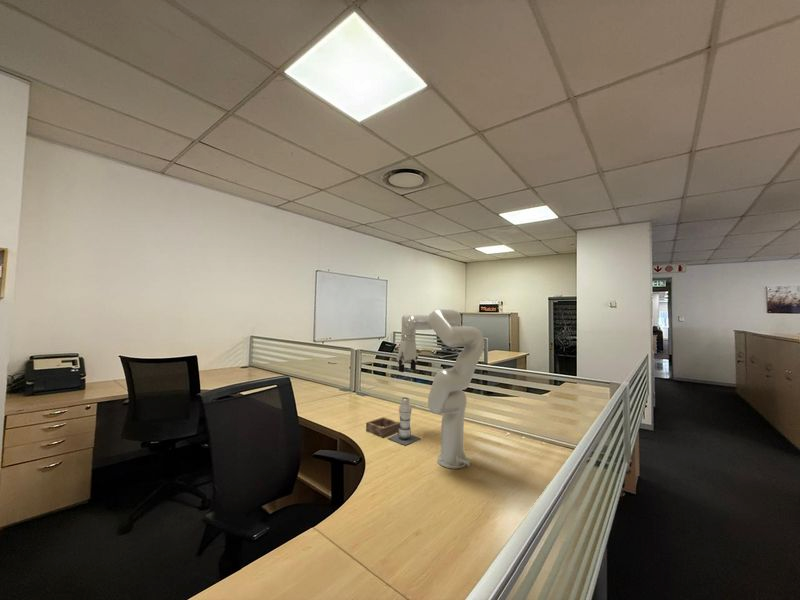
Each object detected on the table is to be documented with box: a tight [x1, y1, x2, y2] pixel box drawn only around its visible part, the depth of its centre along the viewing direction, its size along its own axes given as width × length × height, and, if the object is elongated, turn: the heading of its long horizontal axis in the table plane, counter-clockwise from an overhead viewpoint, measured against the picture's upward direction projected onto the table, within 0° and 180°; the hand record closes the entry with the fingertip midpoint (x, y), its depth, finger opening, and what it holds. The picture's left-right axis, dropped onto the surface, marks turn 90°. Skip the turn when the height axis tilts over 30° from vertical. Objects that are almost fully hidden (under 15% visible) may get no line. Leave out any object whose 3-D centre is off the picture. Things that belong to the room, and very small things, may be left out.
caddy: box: [365, 416, 400, 439], centre depth 174 cm, size 13×13×4 cm
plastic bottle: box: [397, 396, 413, 439], centre depth 164 cm, size 6×7×20 cm
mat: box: [386, 433, 422, 447], centre depth 164 cm, size 12×12×1 cm
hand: (407, 370), depth 172 cm, fingers open, 9 cm apart
